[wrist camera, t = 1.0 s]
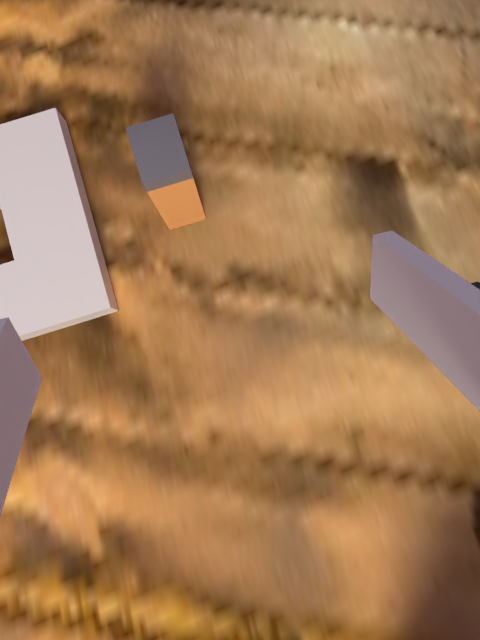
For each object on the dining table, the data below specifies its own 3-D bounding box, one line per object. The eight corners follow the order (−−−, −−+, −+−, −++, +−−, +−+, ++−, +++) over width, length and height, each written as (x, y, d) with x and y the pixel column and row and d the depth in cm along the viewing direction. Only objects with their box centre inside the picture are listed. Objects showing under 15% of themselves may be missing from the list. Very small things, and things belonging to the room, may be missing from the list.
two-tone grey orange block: (156, 186, 44) (125, 127, 33) (192, 175, 44) (173, 113, 33) (169, 229, 43) (142, 184, 32) (205, 218, 43) (190, 169, 32)
